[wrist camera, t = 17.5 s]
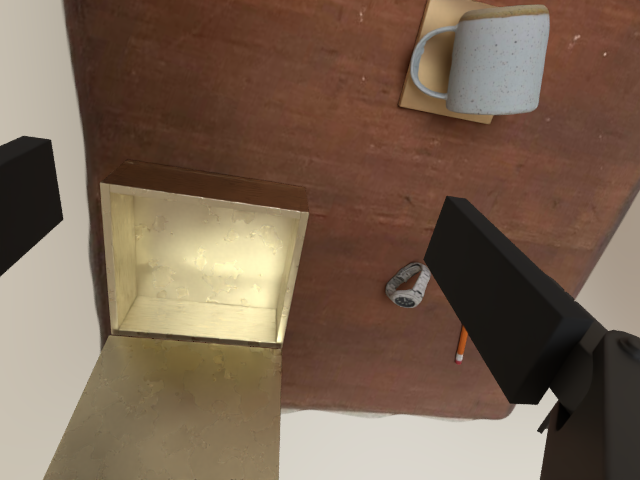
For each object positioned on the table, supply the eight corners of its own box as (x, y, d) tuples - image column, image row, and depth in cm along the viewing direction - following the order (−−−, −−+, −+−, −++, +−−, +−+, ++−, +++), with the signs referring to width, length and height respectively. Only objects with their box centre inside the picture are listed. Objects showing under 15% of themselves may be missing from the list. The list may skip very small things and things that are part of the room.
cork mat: (429, -10, 34) (432, -11, 34) (528, 16, 36) (533, 15, 35) (397, 105, 39) (399, 106, 38) (486, 123, 41) (490, 124, 40)
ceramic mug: (523, 5, 35) (579, 0, 28) (508, 99, 39) (554, 114, 32) (408, 15, 35) (436, 12, 28) (405, 109, 39) (429, 126, 32)
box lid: (7, 556, 26) (26, 574, 29) (276, 554, 30) (268, 570, 33) (108, 335, 41) (114, 362, 44) (282, 349, 44) (276, 374, 47)
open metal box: (127, 159, 39) (99, 182, 33) (305, 186, 42) (309, 212, 36) (132, 296, 47) (111, 334, 41) (281, 310, 51) (281, 348, 45)
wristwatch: (377, 283, 50) (386, 308, 45) (412, 251, 48) (425, 273, 43) (395, 296, 51) (406, 321, 47) (430, 266, 49) (445, 289, 45)
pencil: (454, 360, 58) (456, 364, 57) (476, 254, 49) (479, 258, 48) (459, 359, 58) (462, 364, 58) (483, 254, 49) (486, 257, 48)
